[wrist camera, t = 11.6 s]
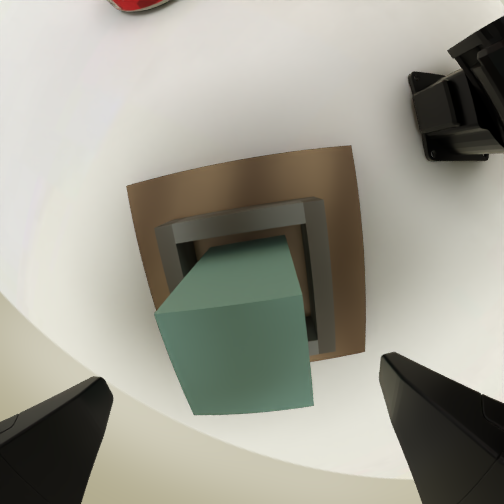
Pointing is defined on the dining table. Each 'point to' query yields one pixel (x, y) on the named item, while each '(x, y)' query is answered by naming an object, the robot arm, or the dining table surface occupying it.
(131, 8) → the soda can
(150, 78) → the dining table surface
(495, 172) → the dining table surface
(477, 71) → the robot arm
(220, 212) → the square socket base
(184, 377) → the rail post
